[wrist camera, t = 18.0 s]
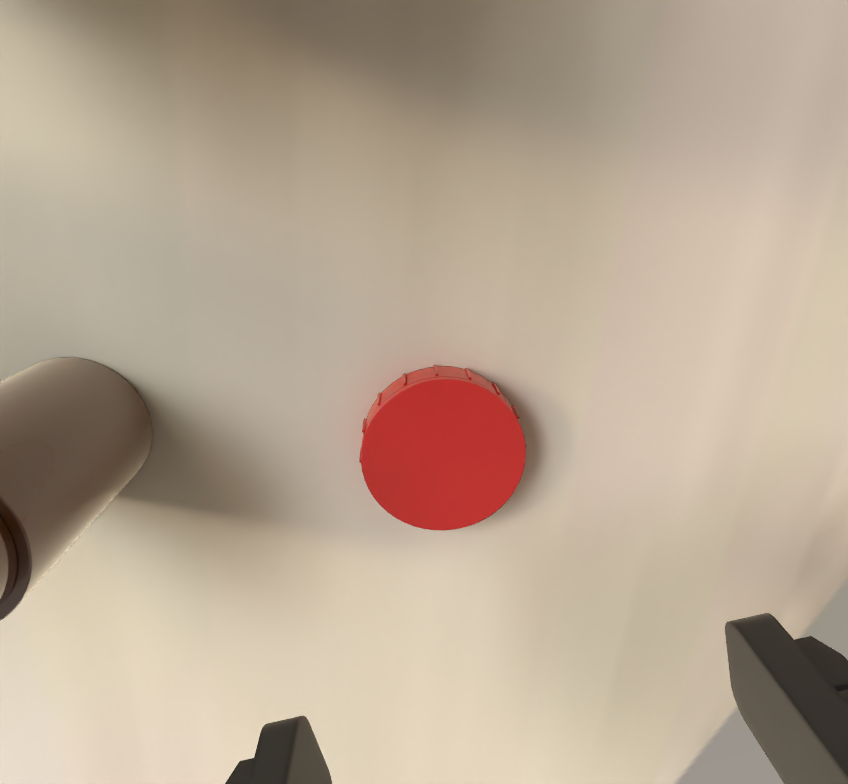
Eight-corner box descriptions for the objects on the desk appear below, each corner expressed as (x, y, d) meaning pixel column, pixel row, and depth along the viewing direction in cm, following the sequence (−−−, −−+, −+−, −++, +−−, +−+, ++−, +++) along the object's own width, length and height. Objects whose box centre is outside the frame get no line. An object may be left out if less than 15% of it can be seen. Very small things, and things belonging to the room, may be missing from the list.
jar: (72, 327, 21) (-160, 430, 12) (182, 434, 23) (46, 596, 14) (-27, 416, 22) (-310, 573, 13) (85, 514, 24) (-102, 715, 15)
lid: (355, 503, 24) (353, 524, 22) (369, 357, 22) (367, 370, 21) (504, 515, 24) (512, 537, 23) (530, 373, 23) (540, 387, 21)
